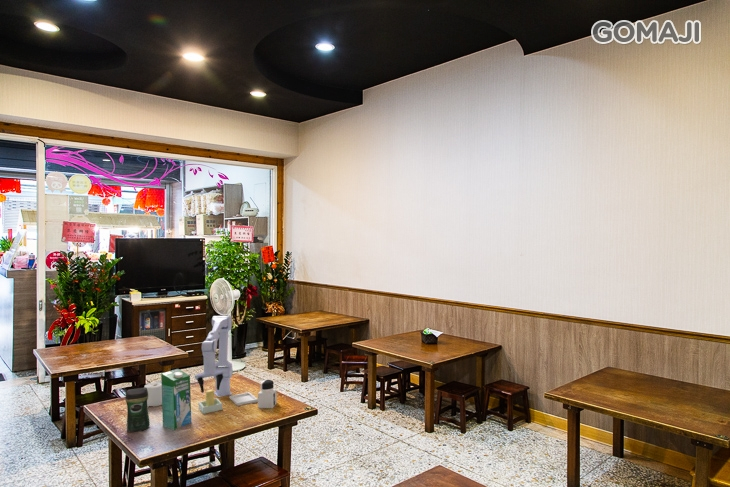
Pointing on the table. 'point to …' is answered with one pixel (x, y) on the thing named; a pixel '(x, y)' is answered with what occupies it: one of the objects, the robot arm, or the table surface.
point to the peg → (210, 397)
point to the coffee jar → (137, 409)
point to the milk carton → (176, 399)
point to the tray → (243, 398)
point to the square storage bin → (210, 408)
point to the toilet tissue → (154, 393)
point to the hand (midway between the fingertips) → (210, 390)
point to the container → (267, 395)
